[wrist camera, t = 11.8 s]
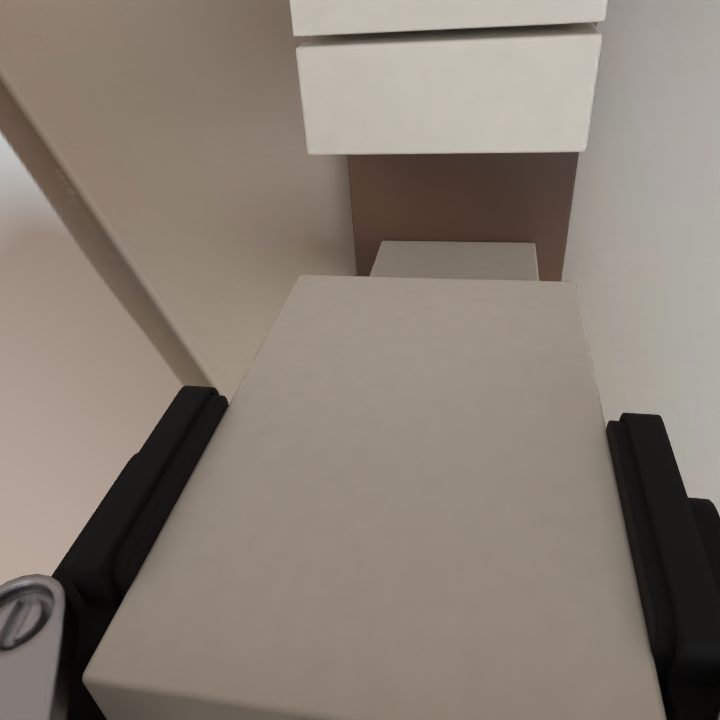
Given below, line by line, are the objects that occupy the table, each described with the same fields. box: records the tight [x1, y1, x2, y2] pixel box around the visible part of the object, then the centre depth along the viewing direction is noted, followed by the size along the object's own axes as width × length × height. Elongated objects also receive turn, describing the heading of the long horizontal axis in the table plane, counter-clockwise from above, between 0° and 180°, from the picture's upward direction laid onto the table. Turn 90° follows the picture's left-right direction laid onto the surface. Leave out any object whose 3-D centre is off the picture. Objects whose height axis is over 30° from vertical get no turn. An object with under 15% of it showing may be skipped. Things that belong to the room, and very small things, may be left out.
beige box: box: [82, 275, 667, 720], centre depth 11 cm, size 2×6×10 cm, turn 94°
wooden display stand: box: [289, 0, 608, 281], centre depth 20 cm, size 16×9×11 cm, turn 4°
